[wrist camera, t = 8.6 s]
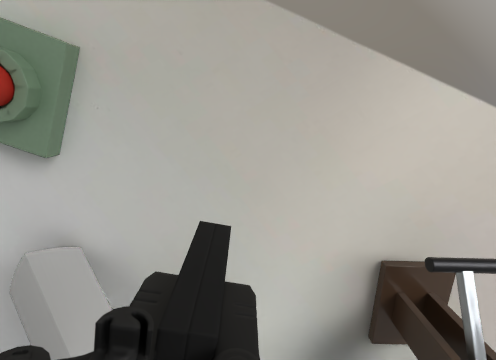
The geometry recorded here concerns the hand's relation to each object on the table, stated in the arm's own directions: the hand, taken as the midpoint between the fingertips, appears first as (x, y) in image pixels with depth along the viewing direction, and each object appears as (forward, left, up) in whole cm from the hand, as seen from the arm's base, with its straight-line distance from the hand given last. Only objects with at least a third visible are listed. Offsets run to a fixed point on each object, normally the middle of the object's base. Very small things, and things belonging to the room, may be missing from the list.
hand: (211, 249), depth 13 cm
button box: (+17, -17, -19) cm, 31 cm away
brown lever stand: (-13, +27, -19) cm, 36 cm away
